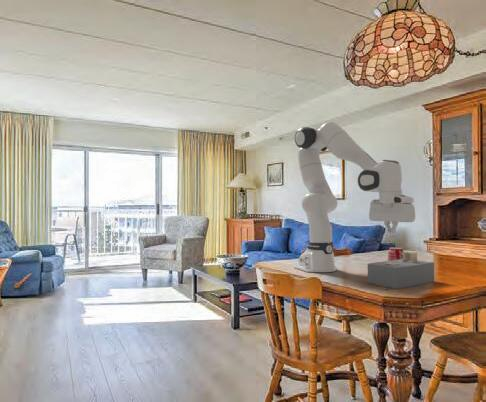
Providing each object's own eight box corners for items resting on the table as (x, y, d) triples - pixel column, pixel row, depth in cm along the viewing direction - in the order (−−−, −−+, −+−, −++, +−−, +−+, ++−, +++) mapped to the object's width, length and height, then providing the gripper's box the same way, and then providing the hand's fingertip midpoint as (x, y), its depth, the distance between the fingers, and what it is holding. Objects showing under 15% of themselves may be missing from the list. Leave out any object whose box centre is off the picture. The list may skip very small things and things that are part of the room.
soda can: (403, 272, 182) (402, 247, 182) (405, 275, 176) (405, 248, 176) (387, 271, 184) (387, 246, 184) (389, 274, 177) (388, 248, 178)
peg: (403, 268, 164) (402, 252, 164) (409, 267, 166) (408, 251, 166) (411, 269, 161) (410, 253, 161) (417, 268, 163) (417, 252, 163)
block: (368, 282, 160) (367, 263, 160) (405, 276, 172) (404, 258, 172) (396, 288, 148) (396, 268, 148) (434, 281, 160) (434, 262, 160)
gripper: (365, 199, 165) (366, 231, 165) (406, 198, 147) (407, 234, 147) (375, 199, 168) (376, 231, 168) (417, 198, 151) (418, 233, 150)
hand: (391, 232), depth 158 cm, fingers closed
